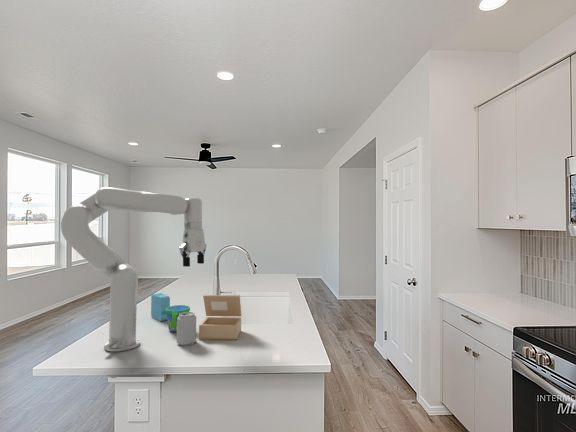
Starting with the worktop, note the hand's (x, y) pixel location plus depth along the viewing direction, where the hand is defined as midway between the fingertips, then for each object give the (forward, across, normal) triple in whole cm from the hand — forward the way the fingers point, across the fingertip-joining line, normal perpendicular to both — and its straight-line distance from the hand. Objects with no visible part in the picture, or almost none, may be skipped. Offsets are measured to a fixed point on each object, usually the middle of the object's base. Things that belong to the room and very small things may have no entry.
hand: (193, 264), depth 144 cm
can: (+31, -10, -4) cm, 32 cm away
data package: (+31, +12, +31) cm, 45 cm away
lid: (+19, +7, -10) cm, 23 cm away
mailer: (+31, +4, -11) cm, 33 cm away
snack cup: (+31, +1, +11) cm, 32 cm away
